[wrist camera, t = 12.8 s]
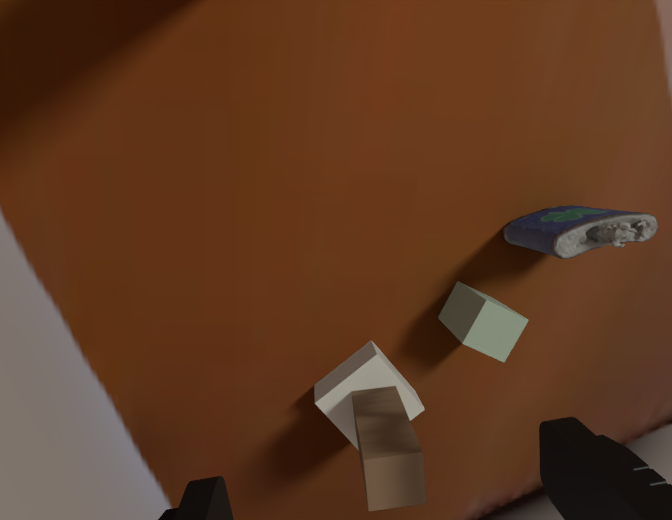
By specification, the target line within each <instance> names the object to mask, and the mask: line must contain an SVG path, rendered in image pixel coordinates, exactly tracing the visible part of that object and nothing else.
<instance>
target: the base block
mask: <svg viewBox="0 0 672 520" xmlns="http://www.w3.org/2000/svg"><path fill="white" fill-rule="evenodd" d="M390 386H396V388H397V390H398V393H399V395H400V398H401V400H402V402H403V405H404V407H405V410H406V412H407V415H408V417H409V420H412V419H413V418H414V417H416V416H417V415H418V414H420V413H421V412H422V411H423V410H425V409H424V407H423V405H422V403H421V401H420V399H419V397H418V395H417V393H416V392H415V390H414V389H413V388H412V387H411V386H410V384H409V383H408V382H407V381H406V380H405V379H404V377H403V376H402V375H401V374H400V373H399V372H398V370H397V369H396V368H395V367H394V366H393V365H392V363H391V362H390V361H389V360H388V359H387V358H386V357H385V355H384V354H383V353H382V352H381V351H380V350H379V348H378V347H377V346H376V345H375V344H374V343H373V341H372V340H371V341H369V342H368V343H367V344H366V345H364V346H363V347H362V348H361V349H359V350H358V351H357V352H355V353H354V354H353V355H352V356H350V357H349V358H348V359H347V360H345V361H344V362H343V363H342V364H340V365H339V366H338V367H337V368H335V369H334V370H333V371H331V372H330V373H329V374H328V375H326V376H325V377H324V378H323V379H321V380H320V381H319V382H318V383H316V384H315V385H314V394H315V404H316V405H317V406H318V407H319V409H320V410H321V411H322V412H323V413H324V414H325V415H326V416H327V417H328V418H329V419H330V420H331V421H332V422H333V423H334V425H335V426H336V427H337V428H338V429H339V430H340V431H341V432H342V433H343V434H344V435H345V436H346V437H347V438H348V439H349V441H350V442H351V443H352V444H353V445H354V446H355V447H356V448H357V449H358V450H359V448H358V442H357V436H356V429H355V420H354V411H353V402H352V393H351V391H358V390H366V389H374V388H382V387H390Z"/></svg>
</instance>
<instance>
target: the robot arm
mask: <svg viewBox="0 0 672 520" xmlns="http://www.w3.org/2000/svg"><path fill="white" fill-rule="evenodd" d="M539 438H540V475H541V480H542V483H543V486H544V489H545V491H546V493H547V495H548V497H549V499H550V500H551V502H552V503H553V505H554V506H555V507H556V509H557V510H558V511H559V512H560V514H561V515H562V517H563V518H564V519H565V520H672V485H671V484H667V483H666V480H665V479H664V478H663V477H662V476H660V475H659V474H658V473H657V472H655V471H654V470H653V469H650V468H649V466H648V465H647V464H646V463H645V462H644V461H643V460H641V459H640V458H639V457H638V456H637V455H636V454H634V453H633V452H632V451H631V450H630V449H628V448H627V447H625V446H623V445H621V444H619V443H617V442H616V441H614V440H612V439H610V438H608V437H606V436H604V435H598V436H596V435H595V434H593V433H592V432H591V431H590V430H589V429H588V428H587V427H586V426H585V425H583V424H582V423H581V422H580V421H579V420H578V419H576V418H574V417H567V418H561V419H555V420H549V421H543V422H542V423H541V424H540V428H539ZM158 520H234V519H233V515H232V511H231V506H230V502H229V498H228V494H227V489H226V485H225V481H224V479H223V477H222V476H217V477H211V478H206V479H200V480H194V481H190V482H189V483H188V485H187V487H186V489H185V492H184V494H183V497H182V500H181V502H180V505H179V508H174V509H168V510H166V511H165V512H164V513H163V515H162V516H161V517H160V518H159V519H158Z"/></svg>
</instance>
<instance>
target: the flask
mask: <svg viewBox="0 0 672 520" xmlns="http://www.w3.org/2000/svg"><path fill="white" fill-rule="evenodd" d="M657 223H658V222H657V220H656V218H655V217H654V216H653V215H651V214H648V213H642V212H627V211H617V210H608V209H597V208H590V207H583V206H574V205H567V206H559V207H550V208H546V209H543V210H541V211H538V212H534V213H531V214H528V215H526V216H523V217H520V218H518V219H515V220H513V221H512V222H510V223H508V224H507V226H505V227H504V230H503V235H504V236H503V237H504V239H505V241H507V242H508V243H510V244H514V245H517V246H522V247H526V248H530V249H532V250H537V251H540V252H543V253H546V254H549V255H553V256H556V257H558V258H561V259H566V258H572V257H574V256H577V255H579V254H581V253H584V252H586V251H588V250H592V249H595V248H599V247H602V246H606V245H610V244H611V245H612V246H613V247H621V248H622V247H624V245H625V244H620V243H623V242H642V241H647V240H649V239H651V238H652V236H653V235H654V234H655V233H656V232H657V230H658V224H657ZM504 231H505V232H504Z"/></svg>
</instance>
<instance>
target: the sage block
mask: <svg viewBox="0 0 672 520" xmlns="http://www.w3.org/2000/svg"><path fill="white" fill-rule="evenodd" d="M438 319H439V320H440V321H441V322H442V323H443V324H444V325H445V326H446V327H447V328H448V329H449V330H450V331H451V332H452V333H453V334H454V335H455V336H456V337H457V338H458V340H459V341H460V342H461V343H462V344H464V345H467V346H469V347H471V348H473V349H475V350H478V351H480V352H482V353H484V354H486V355H489V356H491V357H493V358H495V359H498V360H500V361H502V362H505V360H506V358H507V357H508V355H509V353H510V352H511V350H512V348H513V346H514V345H515V343H516V341H517V340H518V338H519V336H520V334H521V333H522V331H523V329H524V328H525V326H526V324H527V322H528V321H529V320H528V319H526V318H525V317H523V316H521V315H520V314H518V313H517V312H515V311H513V310H512V309H510V308H509V307H507V306H505V305H504V304H502V303H500V302H499V301H497V300H496V299H494V298H492V297H490V296H488V295H486V294H484V293H482V292H480V291H477V290H475V289H473V288H471V287H469V286H467V285H465V284H463V283H461V282H459V281H457V283H456V285H455V287H454V288H453V290H452V292H451V294H450V296H449V298H448V299H447V301H446V303H445V305H444V307H443V309H442V311H441V312H440V314H439V316H438Z"/></svg>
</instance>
